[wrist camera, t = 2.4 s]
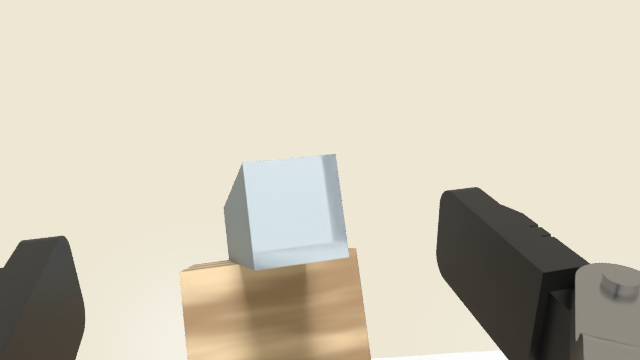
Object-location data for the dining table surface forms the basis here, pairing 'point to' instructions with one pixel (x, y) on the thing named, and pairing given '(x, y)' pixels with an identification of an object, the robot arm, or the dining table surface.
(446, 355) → the dining table surface
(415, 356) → the dining table surface
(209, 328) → the oak tower
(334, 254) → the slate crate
